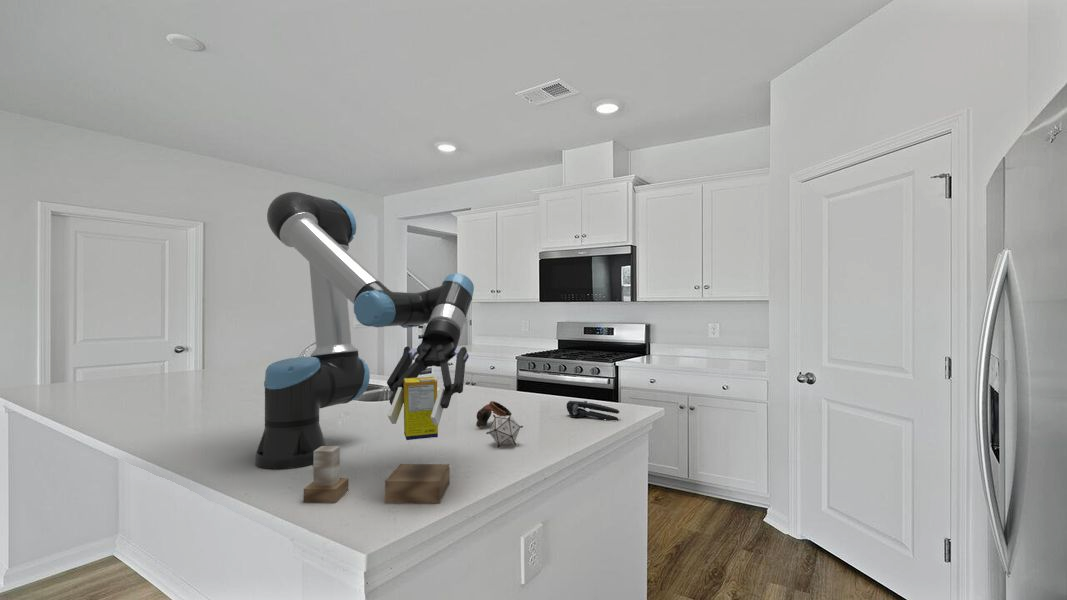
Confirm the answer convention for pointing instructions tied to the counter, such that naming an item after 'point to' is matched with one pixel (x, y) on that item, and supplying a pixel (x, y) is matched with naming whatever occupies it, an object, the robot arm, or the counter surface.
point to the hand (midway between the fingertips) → (412, 420)
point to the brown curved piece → (487, 410)
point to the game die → (504, 430)
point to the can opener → (579, 412)
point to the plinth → (417, 483)
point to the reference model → (326, 477)
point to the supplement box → (419, 407)
